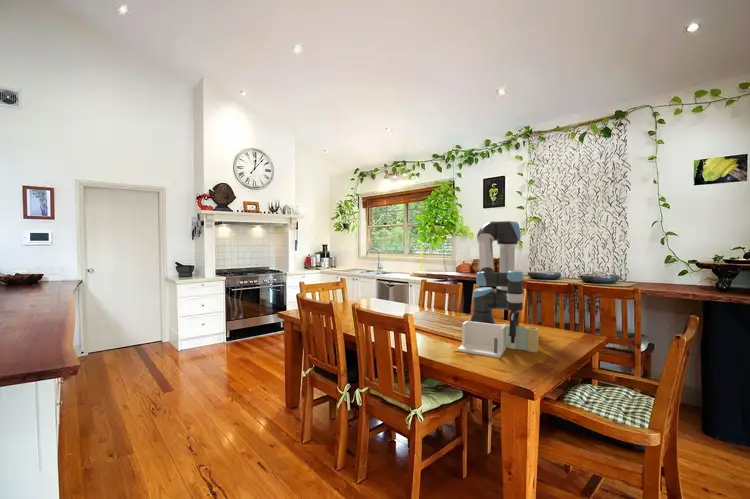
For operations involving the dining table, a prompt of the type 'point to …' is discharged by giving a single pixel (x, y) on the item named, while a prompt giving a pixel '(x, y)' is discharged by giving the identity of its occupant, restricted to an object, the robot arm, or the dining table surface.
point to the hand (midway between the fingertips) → (513, 347)
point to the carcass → (483, 339)
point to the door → (524, 338)
